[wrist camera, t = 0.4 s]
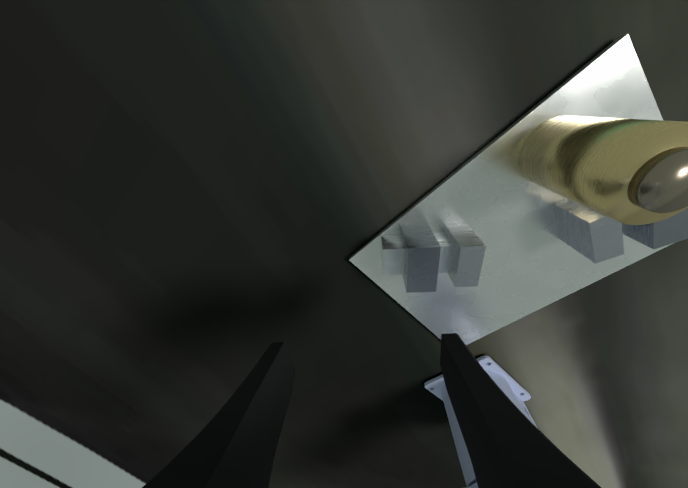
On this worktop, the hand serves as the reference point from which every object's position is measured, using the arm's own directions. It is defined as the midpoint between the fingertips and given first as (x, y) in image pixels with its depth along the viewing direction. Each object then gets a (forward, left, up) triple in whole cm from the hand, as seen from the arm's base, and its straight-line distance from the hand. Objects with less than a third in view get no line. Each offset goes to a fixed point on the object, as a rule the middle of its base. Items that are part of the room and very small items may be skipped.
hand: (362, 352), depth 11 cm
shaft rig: (-7, -8, -10) cm, 15 cm away
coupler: (-3, -13, -10) cm, 17 cm away
